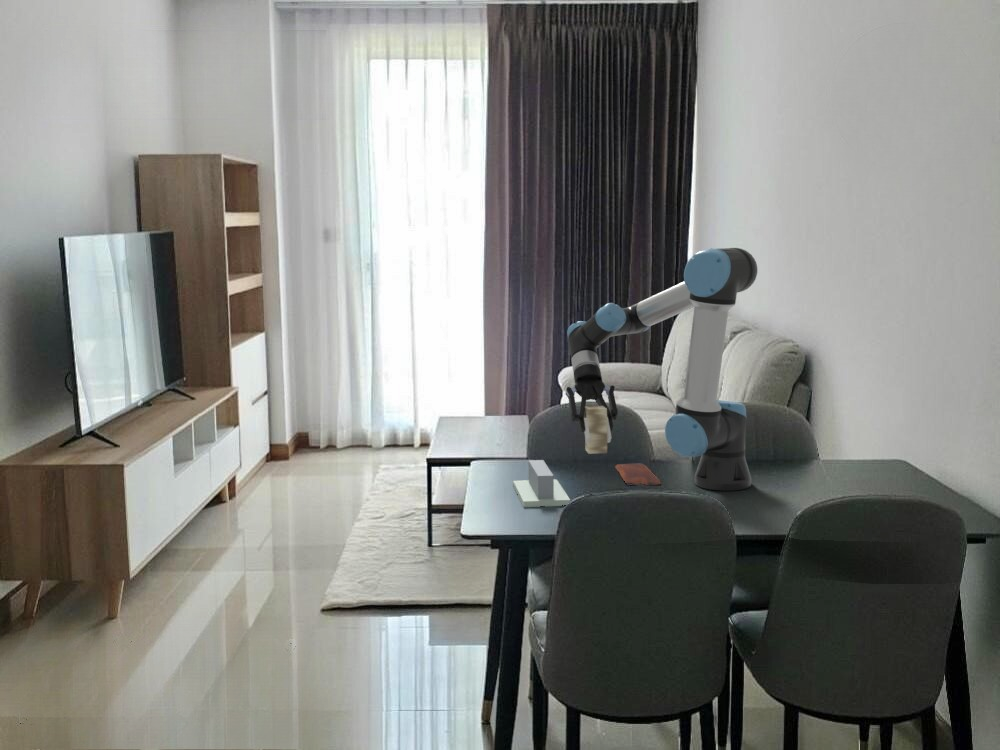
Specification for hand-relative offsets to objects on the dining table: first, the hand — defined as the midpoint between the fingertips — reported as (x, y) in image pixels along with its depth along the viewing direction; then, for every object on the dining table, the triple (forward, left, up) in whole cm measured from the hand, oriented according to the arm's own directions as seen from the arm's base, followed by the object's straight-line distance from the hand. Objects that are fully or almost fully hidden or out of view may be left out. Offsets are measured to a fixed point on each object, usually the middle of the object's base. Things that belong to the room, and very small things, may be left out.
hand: (598, 440), depth 291 cm
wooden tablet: (-6, -22, -15) cm, 27 cm away
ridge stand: (+14, +9, -14) cm, 21 cm away
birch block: (+2, -3, -4) cm, 5 cm away
